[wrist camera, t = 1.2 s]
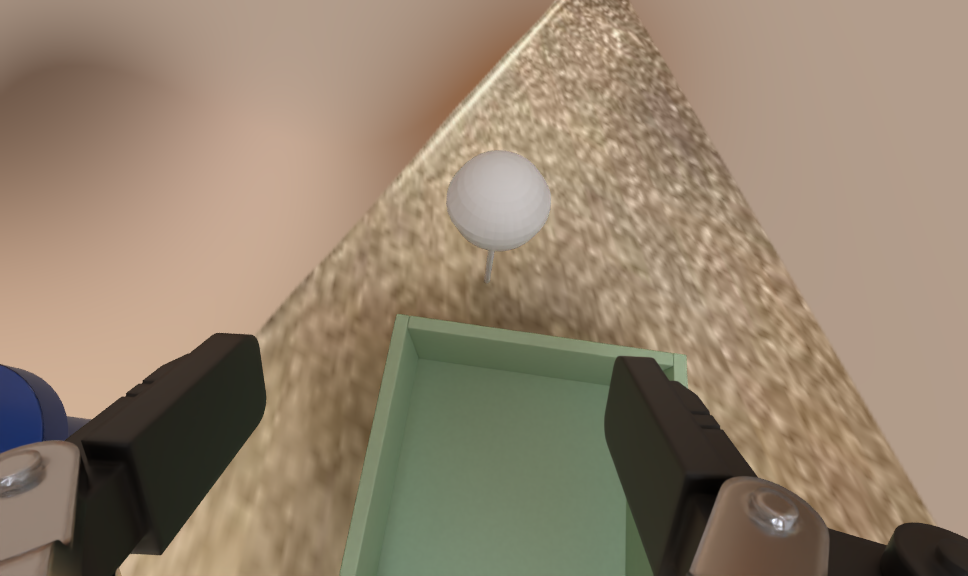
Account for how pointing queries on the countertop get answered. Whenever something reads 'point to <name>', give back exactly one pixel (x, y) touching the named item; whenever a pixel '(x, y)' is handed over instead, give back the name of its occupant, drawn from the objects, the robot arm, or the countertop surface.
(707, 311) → the countertop surface
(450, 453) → the bin
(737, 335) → the countertop surface
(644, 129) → the countertop surface
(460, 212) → the lollipop
